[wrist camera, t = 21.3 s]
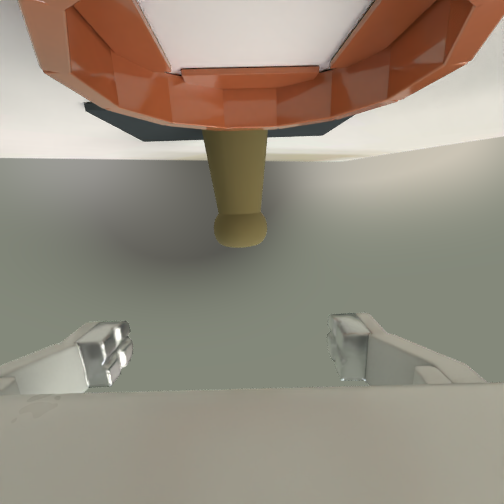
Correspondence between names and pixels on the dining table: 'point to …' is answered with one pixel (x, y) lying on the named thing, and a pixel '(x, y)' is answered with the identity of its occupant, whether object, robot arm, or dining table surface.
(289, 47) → the dining table surface
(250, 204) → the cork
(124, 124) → the mat
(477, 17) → the orange ring
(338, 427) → the robot arm
